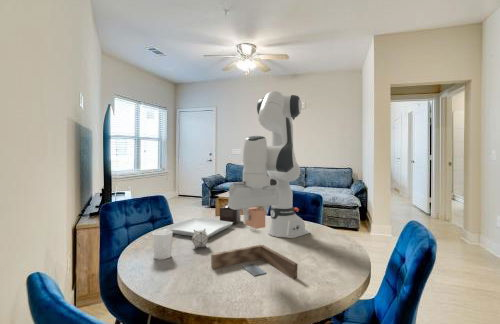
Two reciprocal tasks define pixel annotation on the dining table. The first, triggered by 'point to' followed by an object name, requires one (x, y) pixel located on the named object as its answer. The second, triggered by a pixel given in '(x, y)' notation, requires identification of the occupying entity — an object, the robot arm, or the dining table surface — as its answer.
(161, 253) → the white cup
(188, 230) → the square plate
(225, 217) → the dark brown coffee grinder
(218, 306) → the dining table surface
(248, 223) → the block
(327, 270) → the dining table surface
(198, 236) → the game die
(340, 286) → the dining table surface
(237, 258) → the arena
